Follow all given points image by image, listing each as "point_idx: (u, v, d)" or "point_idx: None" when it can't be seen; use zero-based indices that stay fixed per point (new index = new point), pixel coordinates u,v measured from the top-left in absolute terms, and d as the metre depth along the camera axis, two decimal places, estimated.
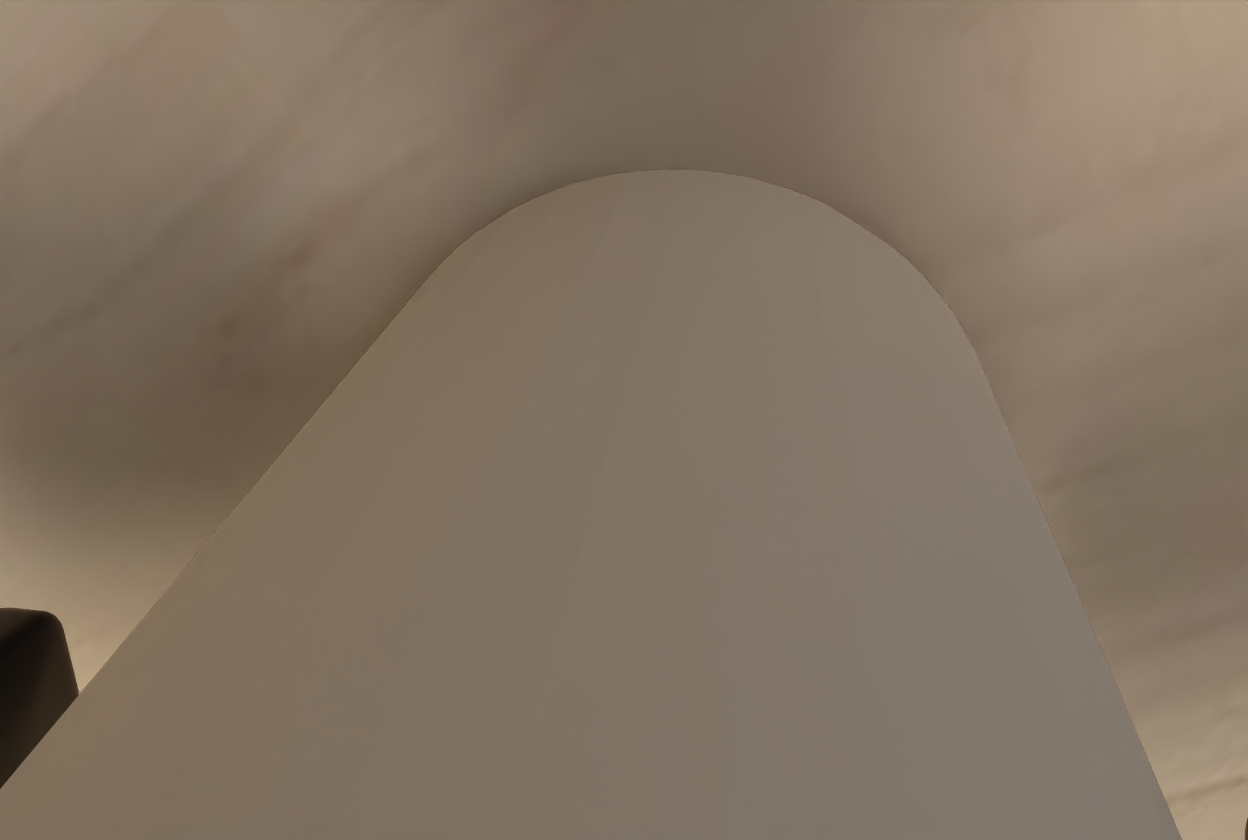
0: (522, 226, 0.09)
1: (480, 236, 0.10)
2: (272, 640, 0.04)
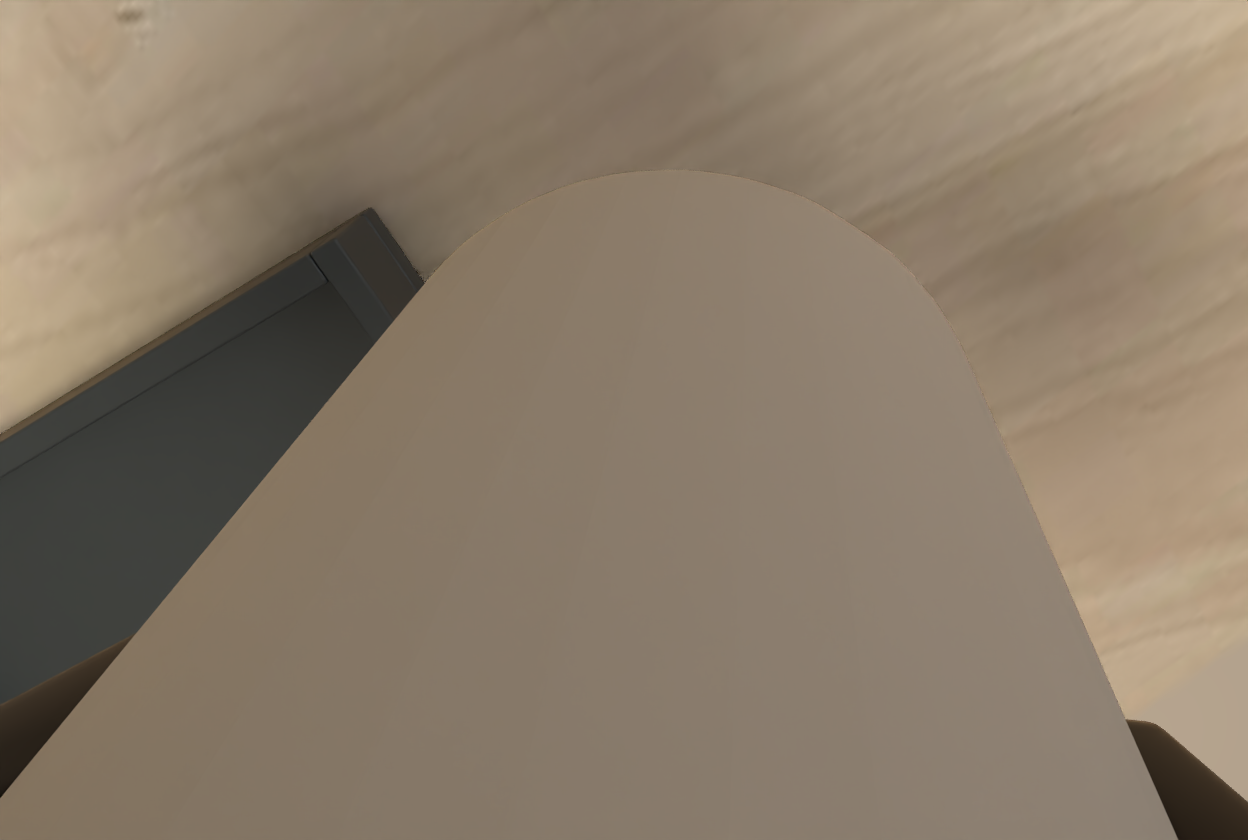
0: (523, 224, 0.10)
1: (482, 234, 0.10)
2: (306, 596, 0.04)
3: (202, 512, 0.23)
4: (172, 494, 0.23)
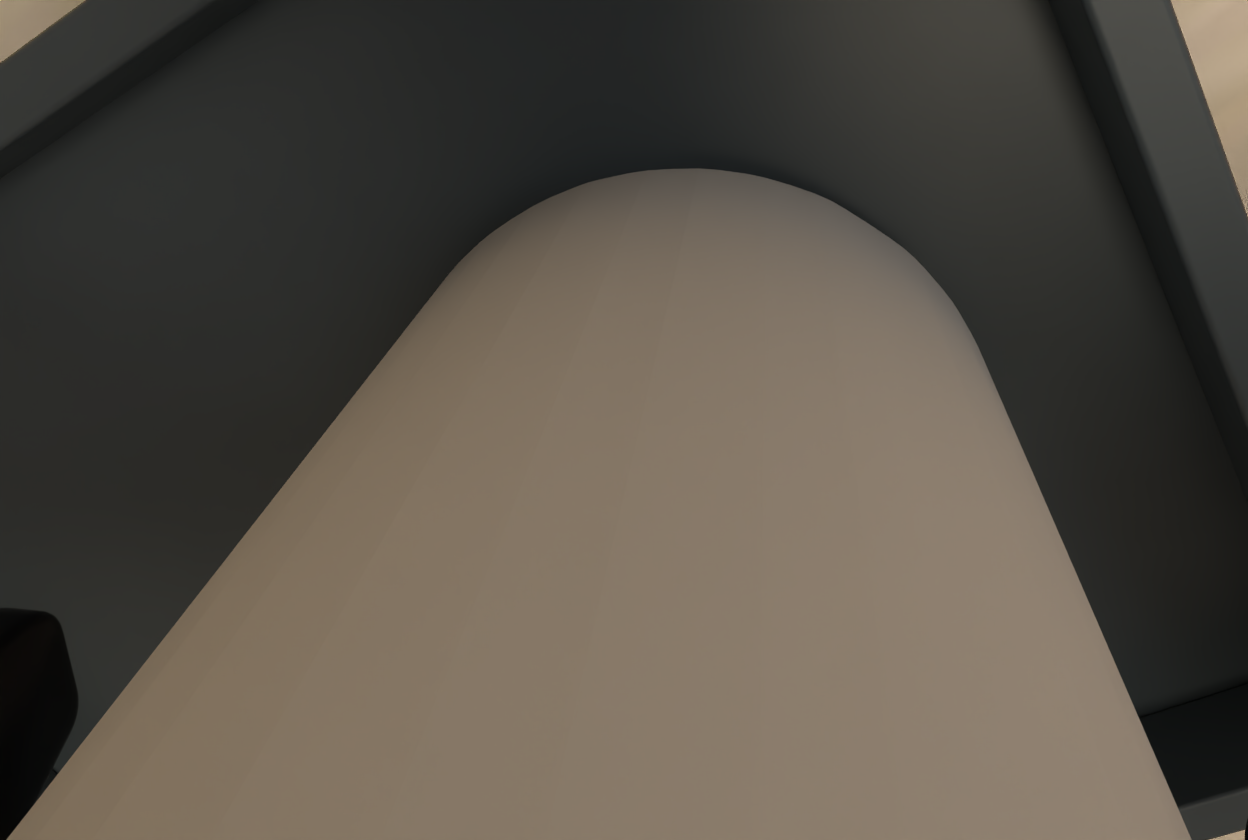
0: (542, 223, 0.10)
1: (501, 233, 0.10)
2: (340, 601, 0.05)
3: (432, 243, 0.12)
4: (375, 204, 0.12)
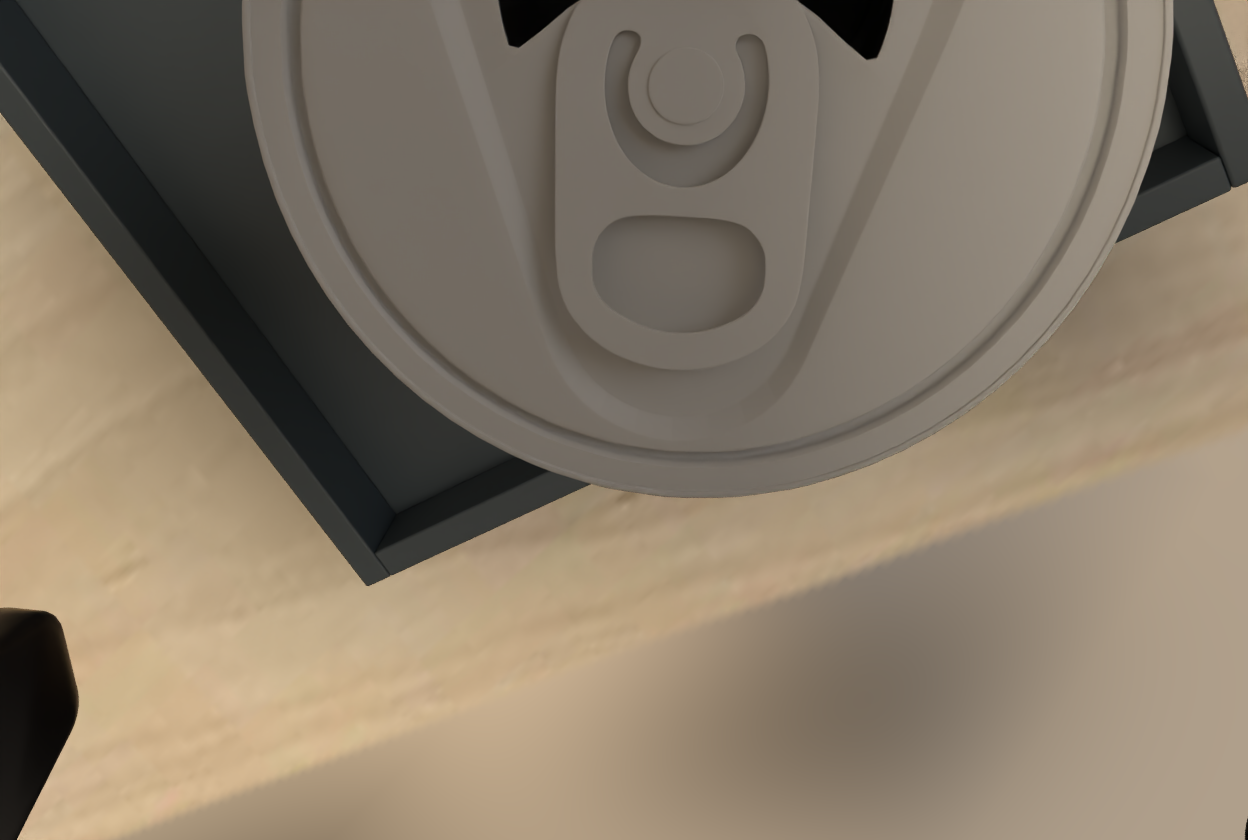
0: None
1: None
2: None
3: None
4: None
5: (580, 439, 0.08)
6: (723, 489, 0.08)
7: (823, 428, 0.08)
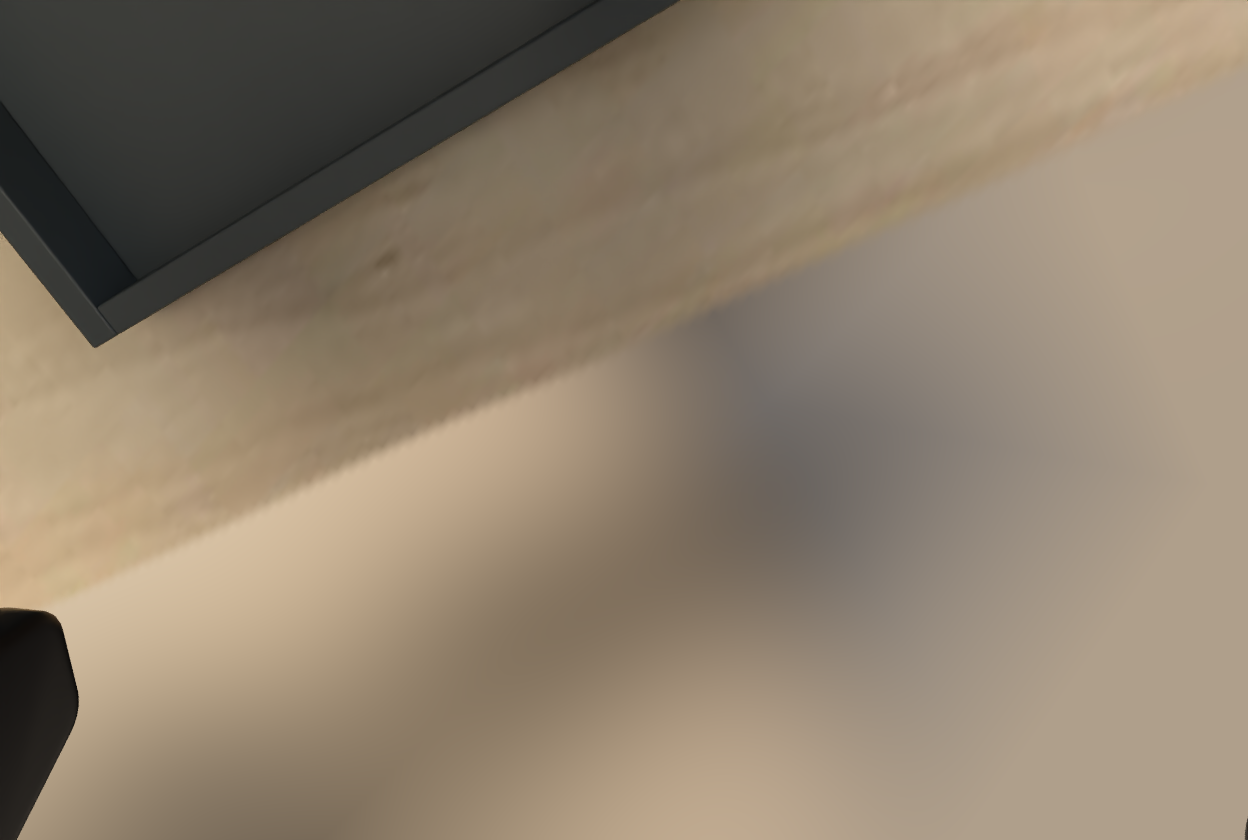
0: None
1: None
2: None
3: None
4: None
5: None
6: None
7: None
